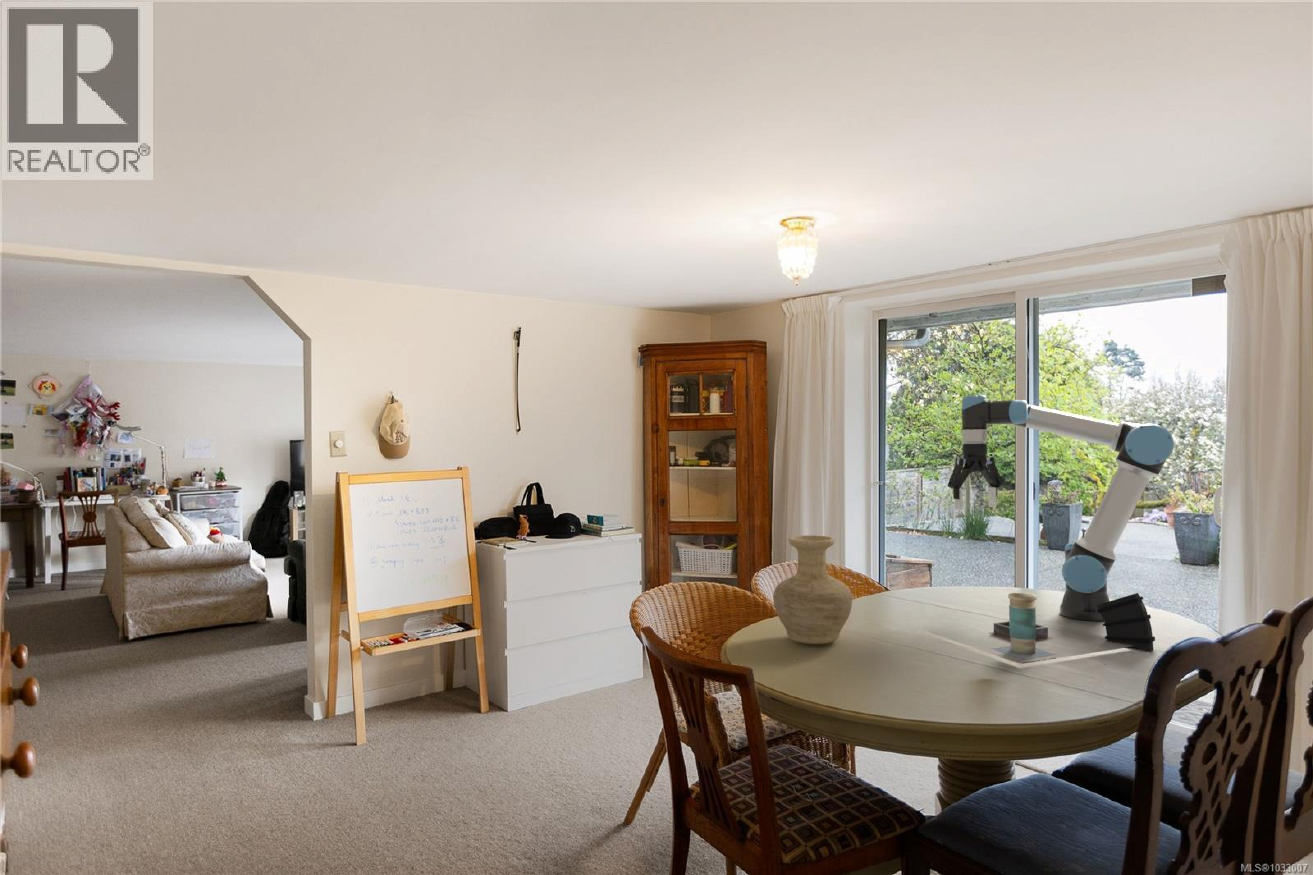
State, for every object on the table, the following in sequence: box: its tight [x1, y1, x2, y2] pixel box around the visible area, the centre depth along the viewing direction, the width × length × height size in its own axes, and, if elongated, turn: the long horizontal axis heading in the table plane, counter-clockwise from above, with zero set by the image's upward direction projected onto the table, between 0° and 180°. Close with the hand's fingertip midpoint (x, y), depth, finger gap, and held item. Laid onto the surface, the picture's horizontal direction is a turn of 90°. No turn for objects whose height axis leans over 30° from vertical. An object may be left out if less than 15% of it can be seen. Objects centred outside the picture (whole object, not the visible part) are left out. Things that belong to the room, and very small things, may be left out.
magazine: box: [1097, 592, 1156, 653], centre depth 215 cm, size 4×13×15 cm, turn 39°
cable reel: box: [1007, 592, 1037, 655], centre depth 209 cm, size 7×7×15 cm
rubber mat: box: [992, 645, 1057, 664], centre depth 209 cm, size 11×11×1 cm
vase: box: [772, 534, 853, 645], centre depth 226 cm, size 22×22×30 cm
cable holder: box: [988, 620, 1054, 642], centre depth 224 cm, size 12×12×4 cm
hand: (975, 508), depth 254 cm, fingers open, 13 cm apart
